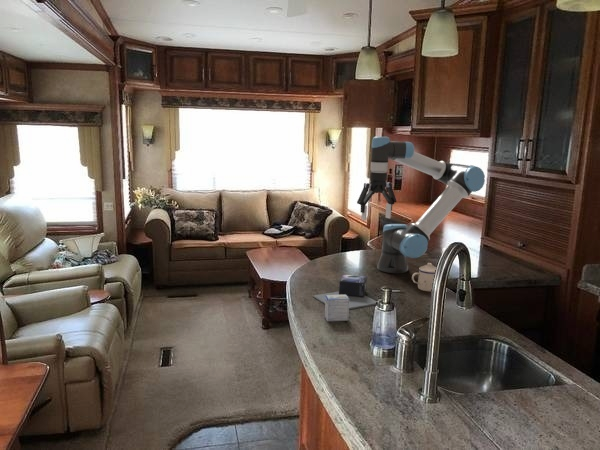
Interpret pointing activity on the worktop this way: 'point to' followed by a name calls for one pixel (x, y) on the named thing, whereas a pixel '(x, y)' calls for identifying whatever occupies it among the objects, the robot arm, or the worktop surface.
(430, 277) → the teacup with lid
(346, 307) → the medicine box
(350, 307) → the slate mat
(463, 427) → the worktop surface
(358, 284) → the small box
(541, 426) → the worktop surface
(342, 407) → the worktop surface
